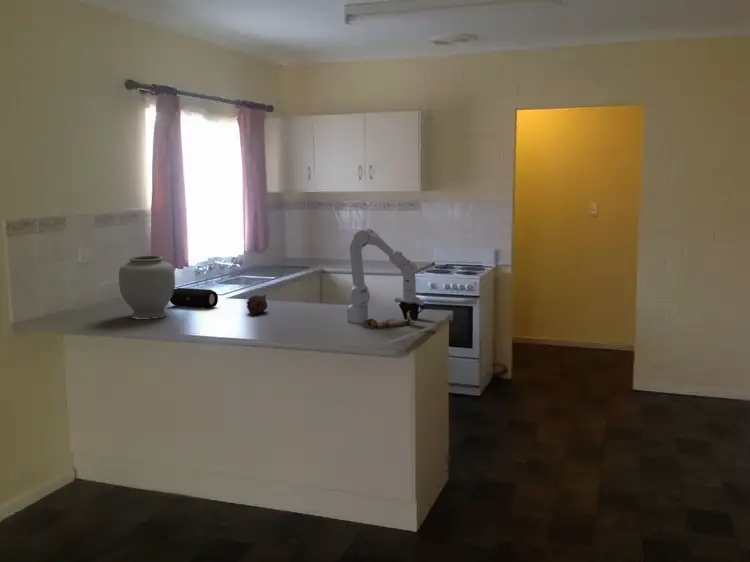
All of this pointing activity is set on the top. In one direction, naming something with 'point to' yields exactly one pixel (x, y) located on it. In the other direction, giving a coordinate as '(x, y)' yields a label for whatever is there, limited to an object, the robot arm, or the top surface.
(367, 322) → the board
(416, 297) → the coffee mug
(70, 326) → the top surface
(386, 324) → the lever
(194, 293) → the portable speaker
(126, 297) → the grey ceramic vase
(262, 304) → the pine cone
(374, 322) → the walnut
